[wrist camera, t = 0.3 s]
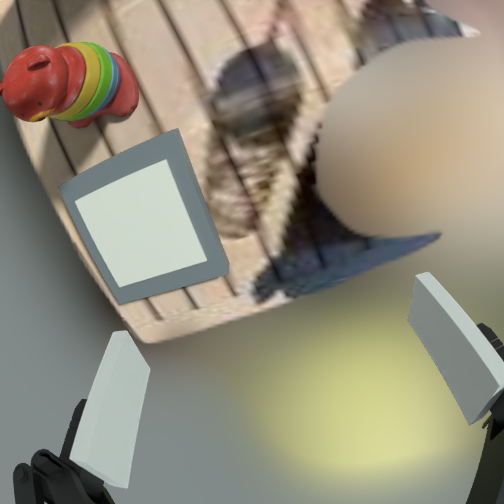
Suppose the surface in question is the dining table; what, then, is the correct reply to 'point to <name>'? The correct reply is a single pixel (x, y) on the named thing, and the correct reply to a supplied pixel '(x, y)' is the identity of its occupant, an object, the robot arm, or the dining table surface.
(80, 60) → the stacking bear
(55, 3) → the dining table surface
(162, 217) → the slate plinth
